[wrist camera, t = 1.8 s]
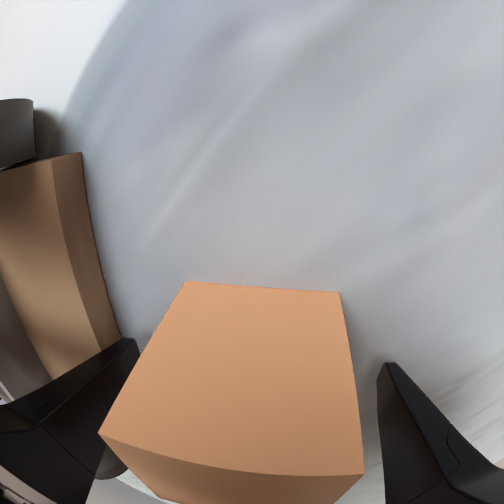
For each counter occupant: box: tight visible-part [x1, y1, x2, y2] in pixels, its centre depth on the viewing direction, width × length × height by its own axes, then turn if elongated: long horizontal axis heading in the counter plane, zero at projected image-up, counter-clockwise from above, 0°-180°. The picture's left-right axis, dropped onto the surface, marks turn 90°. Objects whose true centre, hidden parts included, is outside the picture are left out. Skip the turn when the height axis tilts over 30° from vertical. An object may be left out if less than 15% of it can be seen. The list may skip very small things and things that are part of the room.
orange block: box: [98, 281, 365, 504], centre depth 8 cm, size 5×5×6 cm
